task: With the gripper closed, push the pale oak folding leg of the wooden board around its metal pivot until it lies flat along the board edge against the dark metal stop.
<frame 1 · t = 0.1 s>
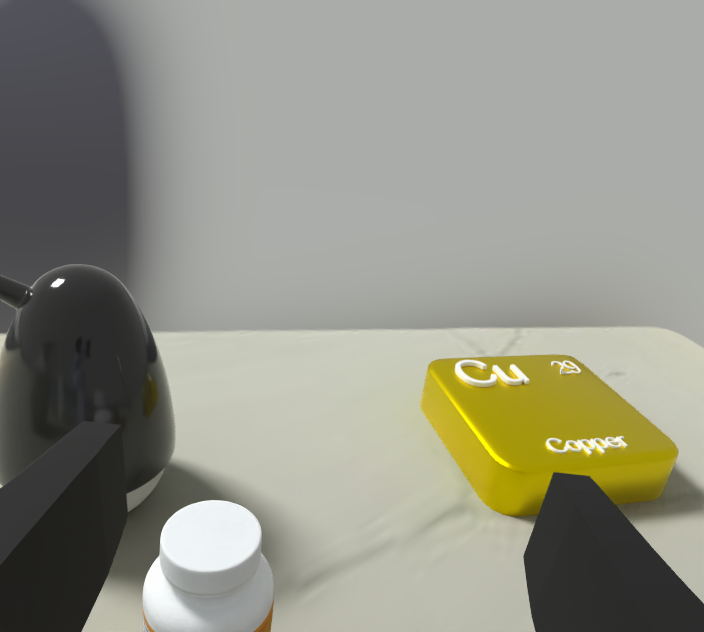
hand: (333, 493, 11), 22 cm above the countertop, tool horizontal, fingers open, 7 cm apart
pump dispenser: (89, 495, 40), on the countertop
element tile: (531, 449, 52), on the countertop
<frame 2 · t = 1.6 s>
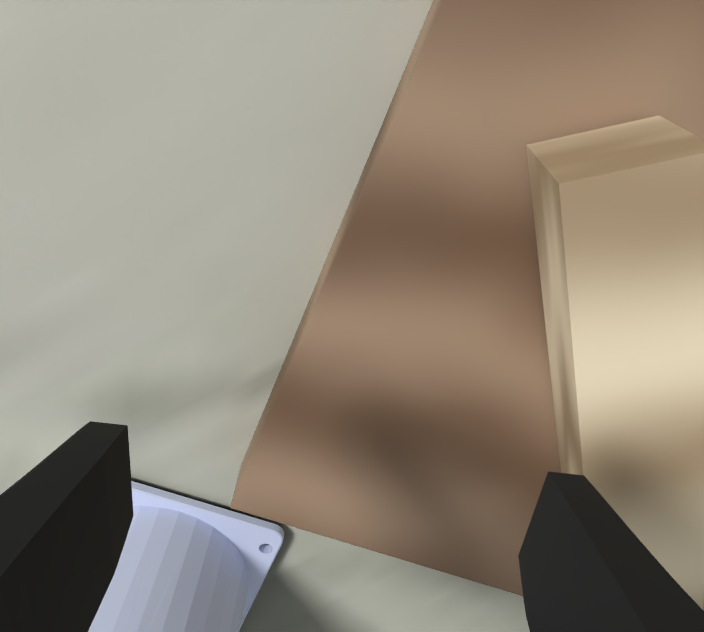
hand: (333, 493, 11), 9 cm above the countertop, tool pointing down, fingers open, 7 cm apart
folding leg: (630, 464, 17), point 4 cm above the countertop, hinge at 35.0°
wooden board: (631, 300, 19), on the countertop
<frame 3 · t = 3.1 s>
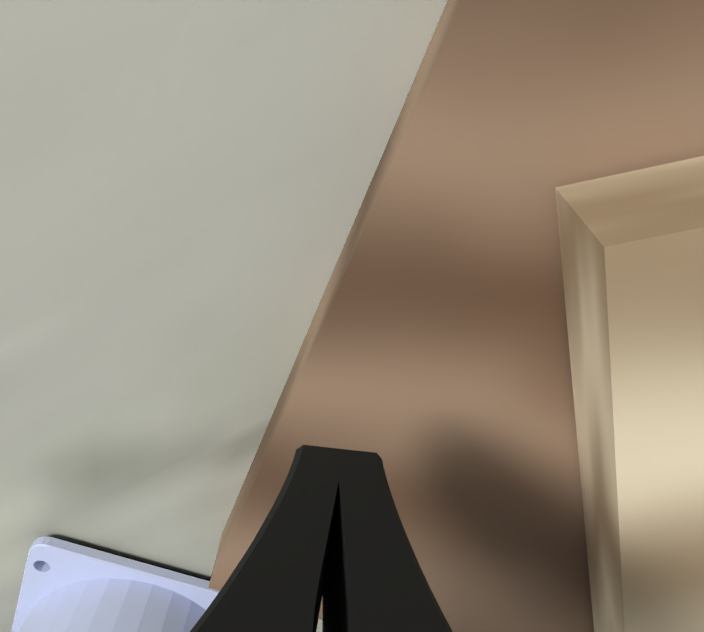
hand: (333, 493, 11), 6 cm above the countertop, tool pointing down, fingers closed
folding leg: (674, 556, 15), point 4 cm above the countertop, hinge at 35.0°
wooden board: (668, 355, 17), on the countertop
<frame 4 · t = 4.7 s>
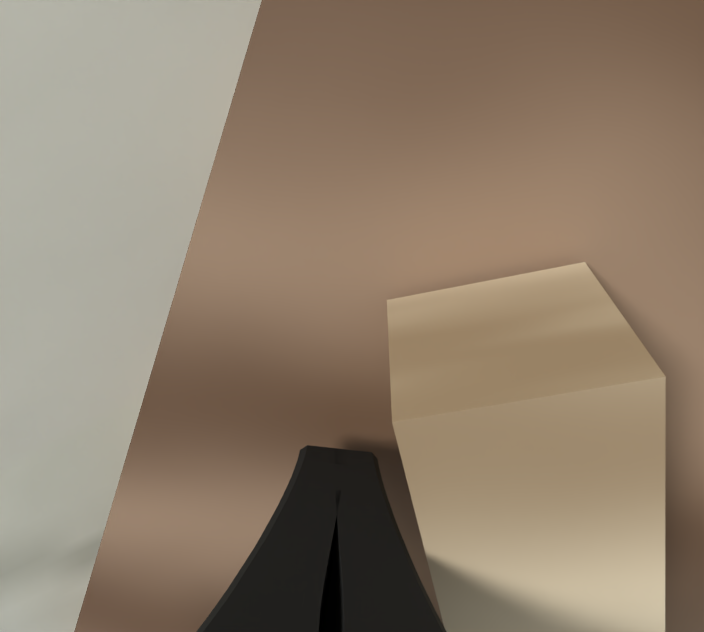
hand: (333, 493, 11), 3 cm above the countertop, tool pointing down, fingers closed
wooden board: (570, 464, 14), on the countertop
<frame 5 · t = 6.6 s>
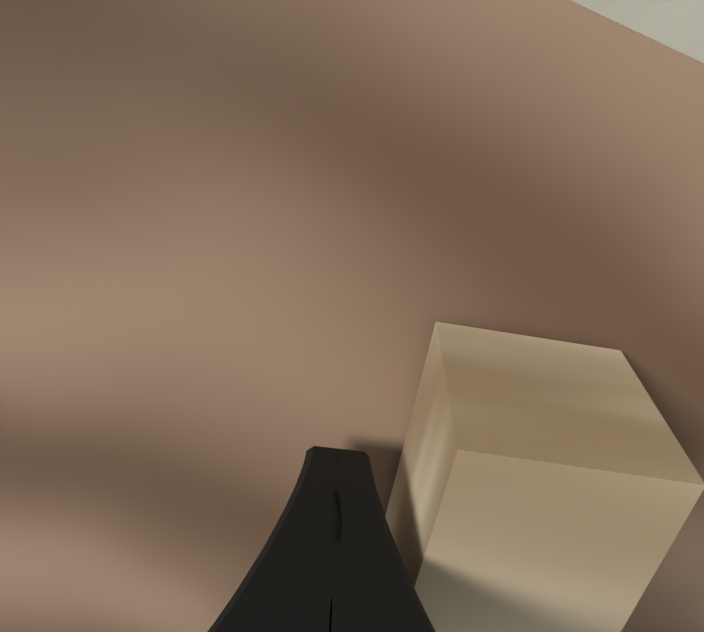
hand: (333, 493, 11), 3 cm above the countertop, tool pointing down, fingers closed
wooden board: (328, 498, 15), on the countertop
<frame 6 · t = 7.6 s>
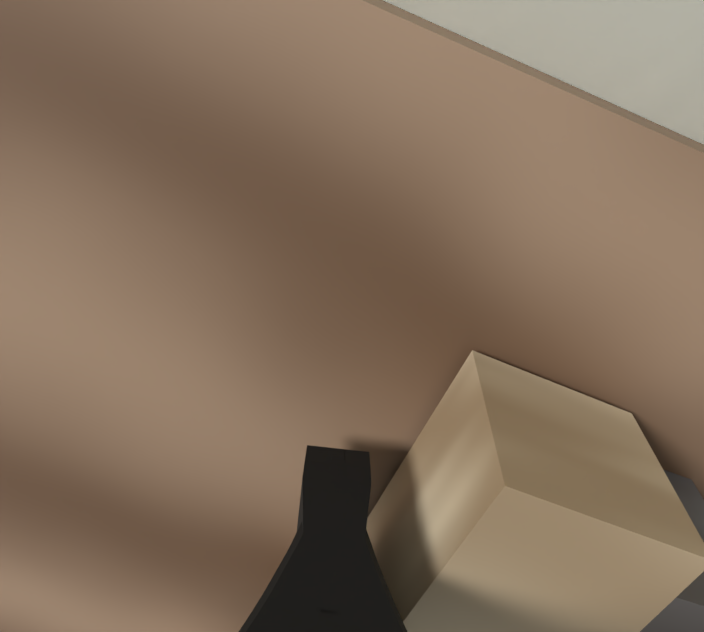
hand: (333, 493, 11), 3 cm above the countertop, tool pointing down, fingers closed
wooden board: (187, 487, 15), on the countertop
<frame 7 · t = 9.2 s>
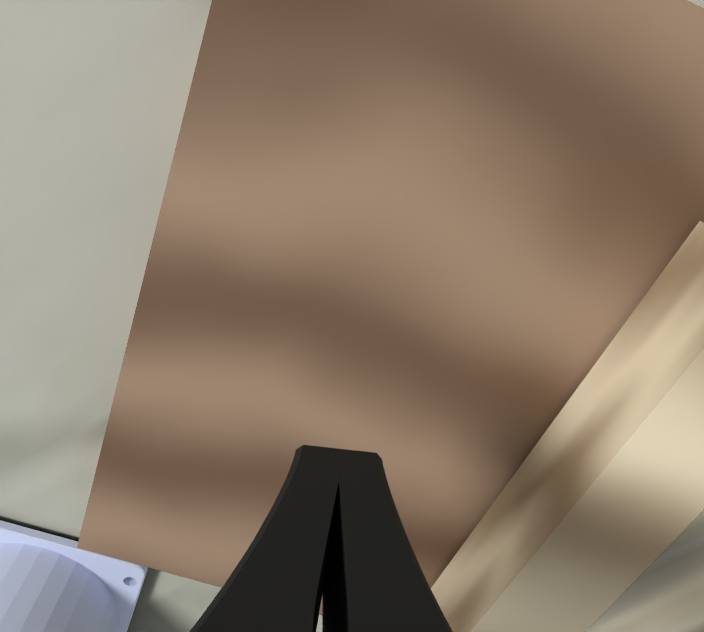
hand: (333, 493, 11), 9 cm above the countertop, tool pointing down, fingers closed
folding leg: (580, 527, 18), point 4 cm above the countertop, hinge at -1.5°, touching wooden board
wooden board: (440, 352, 20), on the countertop
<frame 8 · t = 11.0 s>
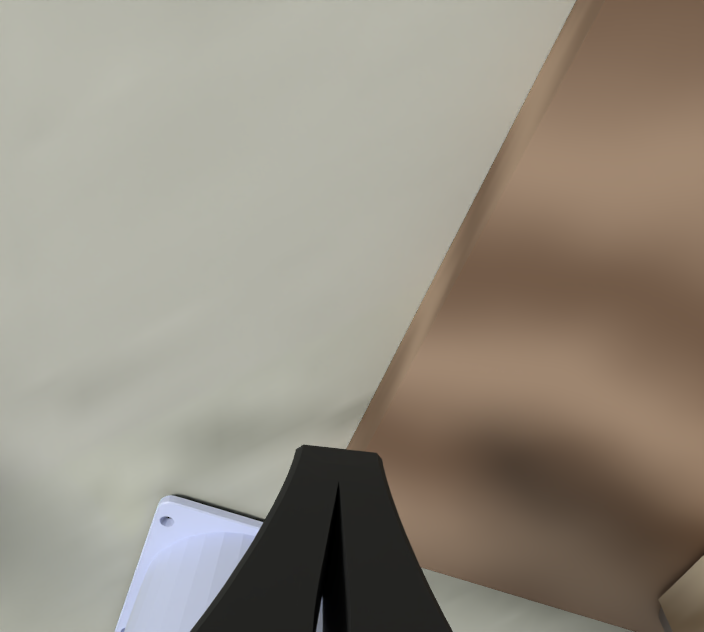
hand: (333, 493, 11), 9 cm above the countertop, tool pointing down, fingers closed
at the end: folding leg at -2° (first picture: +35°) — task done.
